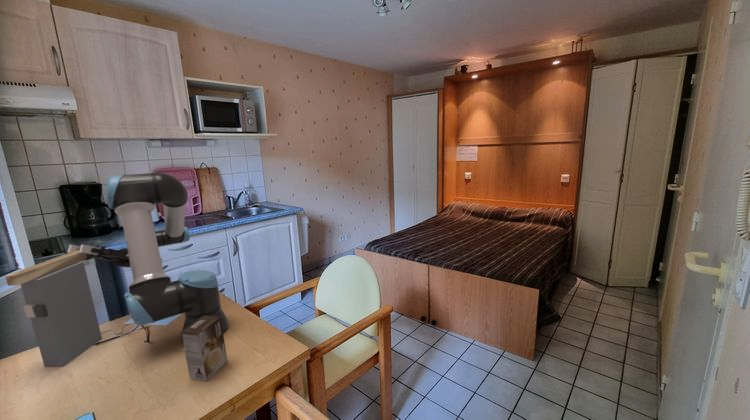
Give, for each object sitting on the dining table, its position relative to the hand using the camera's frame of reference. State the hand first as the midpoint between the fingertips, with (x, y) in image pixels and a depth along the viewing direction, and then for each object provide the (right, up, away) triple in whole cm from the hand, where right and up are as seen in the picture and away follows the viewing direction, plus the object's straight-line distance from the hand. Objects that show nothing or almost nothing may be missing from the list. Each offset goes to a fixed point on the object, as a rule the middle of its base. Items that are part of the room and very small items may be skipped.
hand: (75, 248), depth 105 cm
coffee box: (+51, -37, -10) cm, 64 cm away
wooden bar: (0, -6, -5) cm, 8 cm away
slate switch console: (+1, -35, -1) cm, 35 cm away
